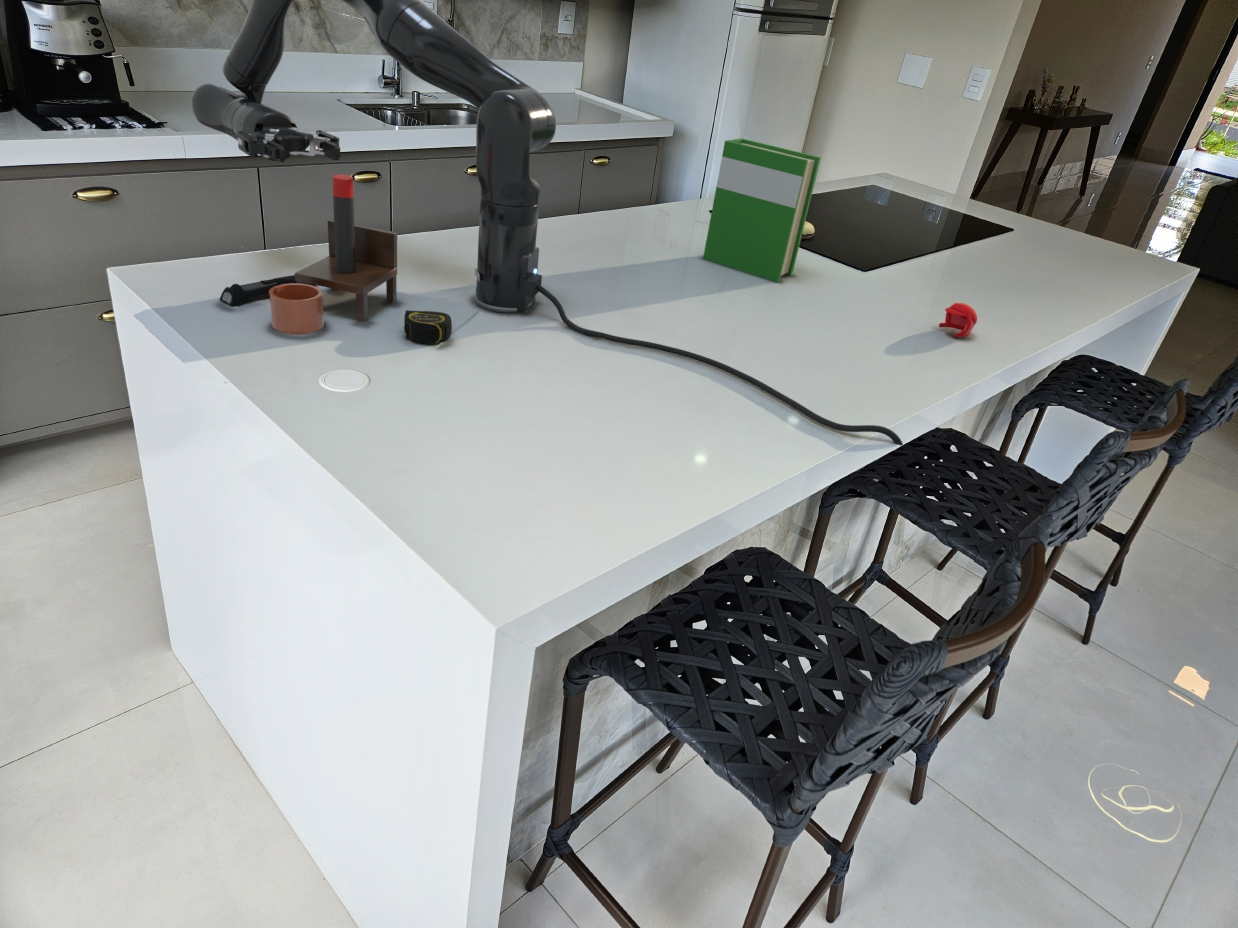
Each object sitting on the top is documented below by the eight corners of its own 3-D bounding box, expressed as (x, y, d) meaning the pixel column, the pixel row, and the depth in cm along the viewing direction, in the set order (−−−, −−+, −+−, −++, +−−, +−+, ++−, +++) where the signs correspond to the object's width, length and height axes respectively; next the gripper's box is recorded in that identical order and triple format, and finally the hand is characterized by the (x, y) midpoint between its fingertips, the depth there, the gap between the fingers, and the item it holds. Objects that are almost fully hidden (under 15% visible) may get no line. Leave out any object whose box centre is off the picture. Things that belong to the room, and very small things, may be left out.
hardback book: (792, 275, 177) (820, 157, 165) (777, 282, 171) (806, 160, 159) (719, 252, 184) (741, 138, 172) (702, 258, 179) (725, 141, 167)
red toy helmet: (946, 324, 162) (956, 294, 159) (976, 334, 159) (987, 304, 156) (929, 332, 157) (940, 301, 154) (960, 343, 154) (971, 312, 151)
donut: (772, 236, 212) (773, 239, 203) (773, 217, 210) (774, 220, 201) (812, 236, 210) (815, 240, 202) (813, 217, 209) (816, 220, 200)
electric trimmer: (323, 293, 135) (323, 274, 133) (232, 311, 123) (230, 290, 122) (309, 286, 136) (309, 267, 135) (218, 303, 125) (216, 282, 124)
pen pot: (333, 325, 124) (331, 289, 121) (307, 341, 118) (304, 304, 115) (289, 315, 125) (287, 280, 122) (261, 331, 119) (258, 294, 116)
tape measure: (450, 332, 127) (451, 309, 125) (451, 350, 122) (452, 326, 120) (404, 330, 126) (404, 306, 124) (402, 348, 120) (402, 323, 118)
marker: (359, 269, 128) (356, 177, 121) (349, 274, 126) (346, 180, 119) (342, 266, 129) (338, 173, 122) (332, 271, 126) (328, 177, 119)
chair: (397, 303, 134) (397, 232, 129) (364, 326, 125) (362, 250, 119) (334, 290, 136) (331, 219, 130) (296, 311, 126) (291, 236, 121)
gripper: (217, 106, 129) (261, 128, 120) (306, 106, 138) (353, 127, 129) (222, 156, 133) (265, 182, 124) (308, 154, 142) (355, 177, 133)
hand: (310, 154), depth 126 cm, fingers open, 8 cm apart
